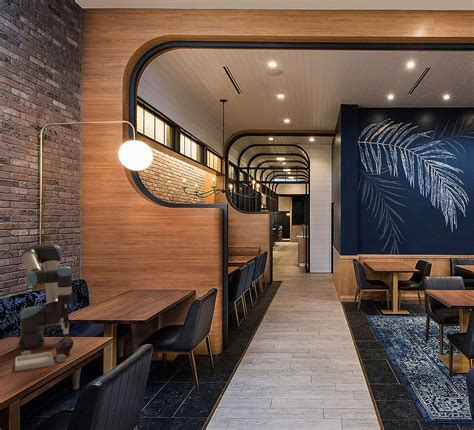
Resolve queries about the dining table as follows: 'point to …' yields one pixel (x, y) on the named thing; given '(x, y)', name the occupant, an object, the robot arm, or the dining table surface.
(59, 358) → the squat grey cube
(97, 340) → the dining table surface
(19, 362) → the dish
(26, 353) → the matte grey cube
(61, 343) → the rock
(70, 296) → the robot arm
